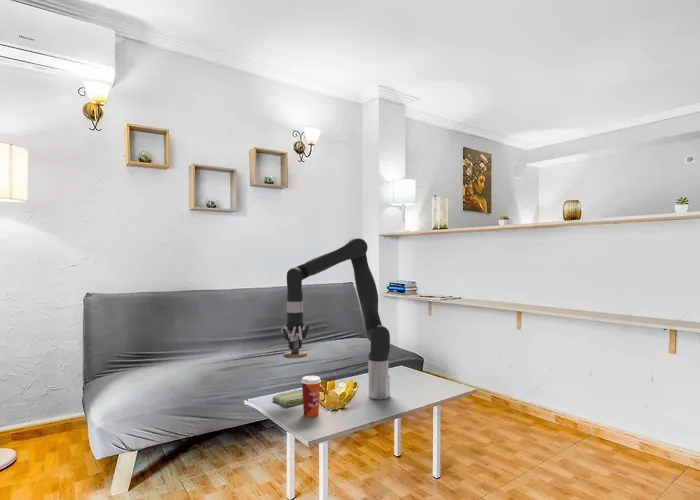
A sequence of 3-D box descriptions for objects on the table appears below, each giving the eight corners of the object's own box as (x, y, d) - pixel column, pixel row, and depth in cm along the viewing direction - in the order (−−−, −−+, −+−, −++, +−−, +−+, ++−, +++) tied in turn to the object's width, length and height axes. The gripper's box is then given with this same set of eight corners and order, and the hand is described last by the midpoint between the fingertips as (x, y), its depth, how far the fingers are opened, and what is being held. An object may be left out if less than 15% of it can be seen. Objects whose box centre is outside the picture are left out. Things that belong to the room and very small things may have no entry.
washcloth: (319, 400, 191) (319, 393, 191) (285, 409, 179) (285, 401, 179) (303, 393, 201) (303, 386, 201) (270, 401, 189) (270, 394, 190)
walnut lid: (311, 354, 194) (311, 339, 194) (299, 359, 184) (299, 343, 184) (291, 352, 198) (291, 337, 198) (278, 357, 188) (278, 341, 188)
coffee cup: (313, 419, 166) (313, 381, 167) (296, 415, 170) (297, 378, 171) (325, 413, 173) (325, 376, 174) (309, 409, 178) (309, 374, 178)
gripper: (284, 313, 184) (284, 352, 184) (312, 310, 193) (312, 348, 192) (277, 311, 191) (277, 349, 190) (304, 309, 199) (304, 345, 198)
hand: (295, 348), depth 191 cm, fingers closed on walnut lid, 3 cm apart
